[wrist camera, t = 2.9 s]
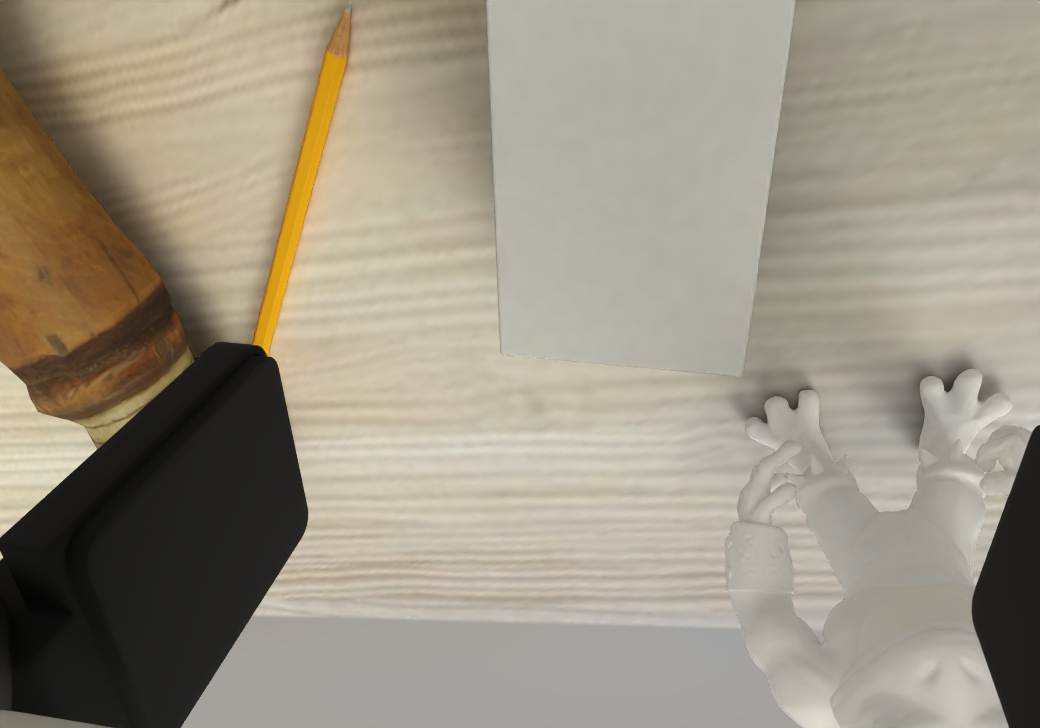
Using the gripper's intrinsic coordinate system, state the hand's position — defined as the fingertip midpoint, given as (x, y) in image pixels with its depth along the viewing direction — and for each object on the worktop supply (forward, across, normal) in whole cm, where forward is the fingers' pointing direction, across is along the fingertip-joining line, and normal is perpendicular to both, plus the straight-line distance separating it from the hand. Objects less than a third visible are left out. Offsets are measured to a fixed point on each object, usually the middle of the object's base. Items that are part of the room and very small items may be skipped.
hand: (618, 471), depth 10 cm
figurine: (+19, -8, +11) cm, 24 cm away
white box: (+14, +1, -1) cm, 14 cm away
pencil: (+20, +15, +5) cm, 25 cm away
